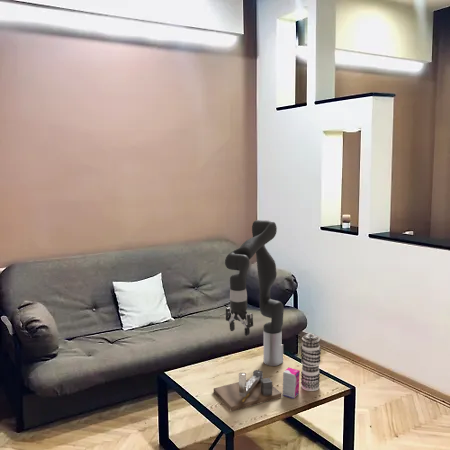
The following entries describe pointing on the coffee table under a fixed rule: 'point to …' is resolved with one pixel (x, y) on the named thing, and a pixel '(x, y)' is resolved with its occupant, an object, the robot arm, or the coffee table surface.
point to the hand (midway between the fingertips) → (239, 332)
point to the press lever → (249, 382)
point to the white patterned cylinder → (310, 362)
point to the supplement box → (291, 383)
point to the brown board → (255, 396)
